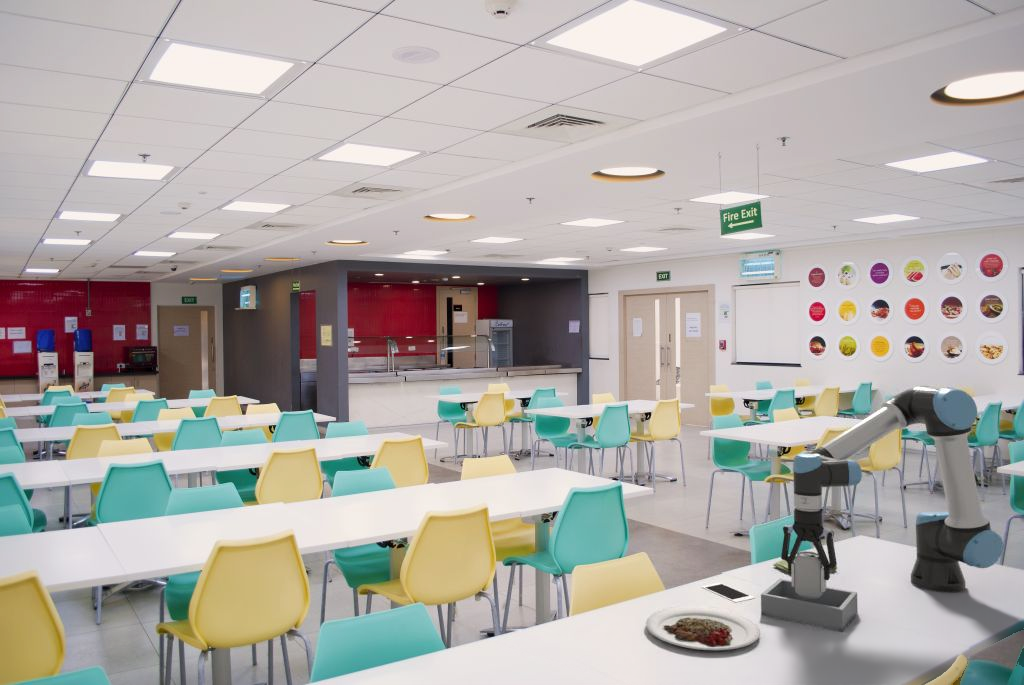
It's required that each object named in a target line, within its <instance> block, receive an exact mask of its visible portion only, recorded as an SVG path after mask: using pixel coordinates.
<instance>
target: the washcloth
mask: <svg viewBox="0 0 1024 685" xmlns="http://www.w3.org/2000/svg"><path fill="white" fill-rule="evenodd" d="M794 562H795V559H794ZM773 566H774V567H775V568H777V569H779V570H781V571H784V572H786V573H788V562H787V561H785V560H782V559H781V560H778V561H776V562H775V563H773ZM837 569H838V567H837V565H836V566H835V567H834V568H830V573H833V572H834V573H835V572H836V571H837Z"/></svg>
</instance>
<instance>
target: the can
mask: <svg viewBox="0 0 1024 685" xmlns="http://www.w3.org/2000/svg"><path fill="white" fill-rule="evenodd" d="M822 567H823V565H822V562H821V560H820V557H819V555H818V553H817V552H814V551H807V550H805V551H803V550H801V551H798V552H797V554H796V557H795V592H796V593H797V594H798V595H799V596H801V597H804V598H809V599H816V598H819V597H820V596H821V595H823V592H821V568H822Z"/></svg>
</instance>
